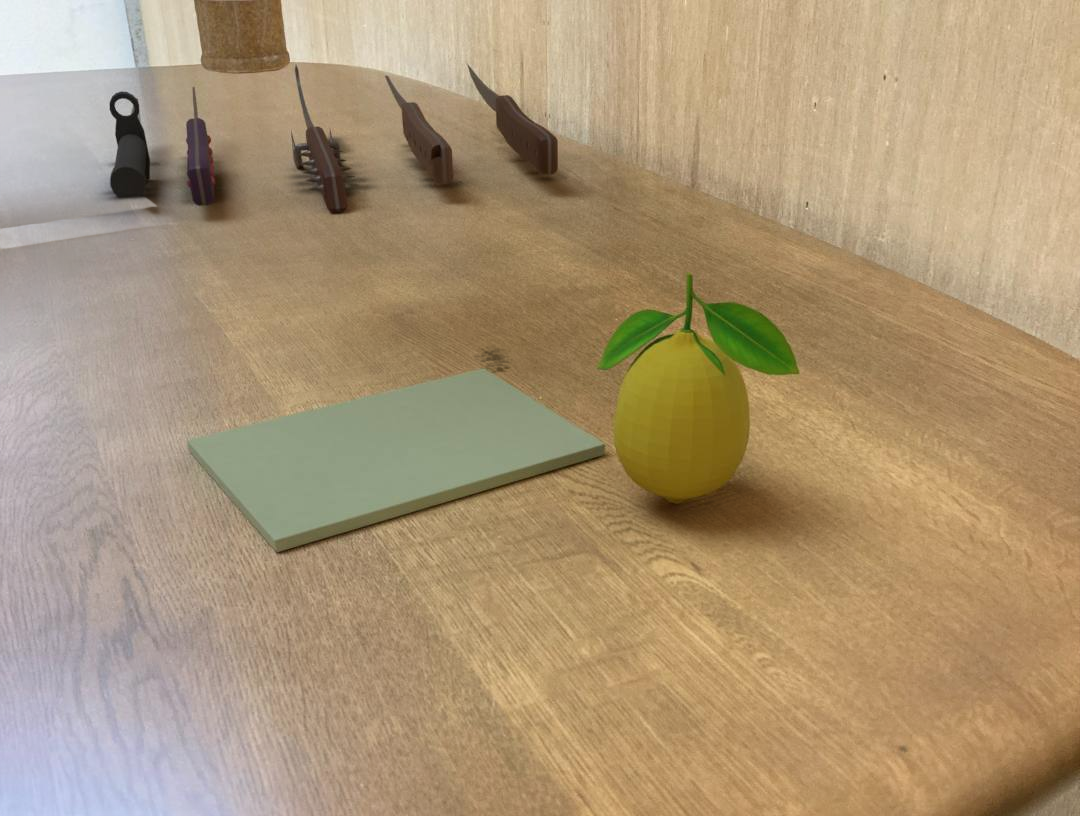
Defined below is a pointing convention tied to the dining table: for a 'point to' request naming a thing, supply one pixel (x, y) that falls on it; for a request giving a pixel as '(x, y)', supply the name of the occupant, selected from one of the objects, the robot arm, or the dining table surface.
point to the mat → (387, 455)
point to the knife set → (326, 148)
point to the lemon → (690, 394)
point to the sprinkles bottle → (241, 35)
